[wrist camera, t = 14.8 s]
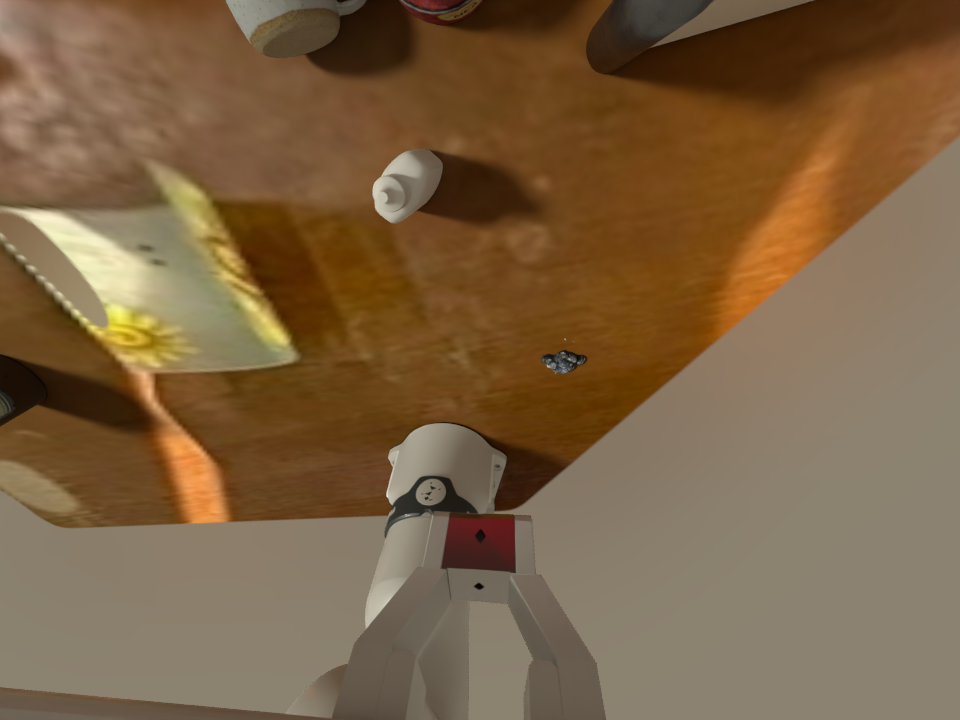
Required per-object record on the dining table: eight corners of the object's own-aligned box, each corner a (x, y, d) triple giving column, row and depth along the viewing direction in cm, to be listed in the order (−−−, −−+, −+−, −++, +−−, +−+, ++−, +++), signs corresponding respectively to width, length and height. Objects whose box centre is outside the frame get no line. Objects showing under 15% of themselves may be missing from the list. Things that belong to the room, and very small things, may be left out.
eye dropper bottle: (455, 191, 34) (433, 212, 24) (406, 214, 35) (366, 243, 25) (435, 143, 32) (402, 143, 22) (384, 169, 33) (331, 181, 23)
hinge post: (627, 73, 28) (714, 22, 16) (583, 74, 28) (637, 26, 17) (637, 12, 26) (744, -95, 14) (589, 14, 26) (656, -89, 15)
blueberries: (531, 334, 43) (530, 342, 41) (597, 329, 41) (600, 337, 40) (535, 377, 46) (535, 386, 45) (597, 374, 45) (599, 383, 43)
